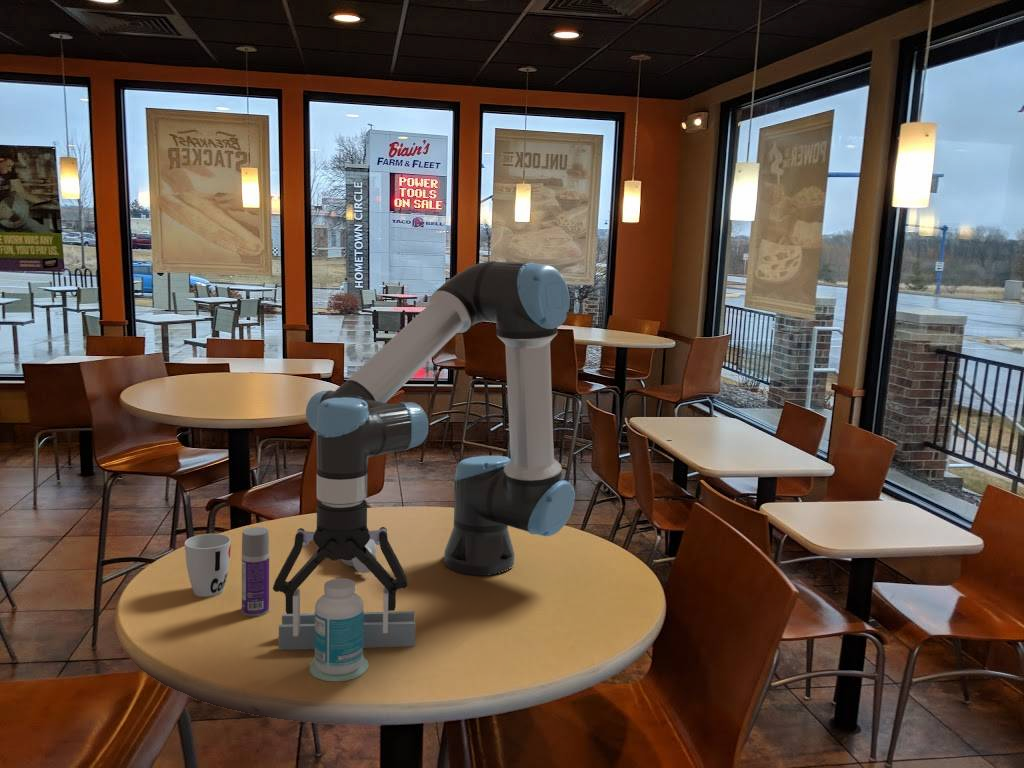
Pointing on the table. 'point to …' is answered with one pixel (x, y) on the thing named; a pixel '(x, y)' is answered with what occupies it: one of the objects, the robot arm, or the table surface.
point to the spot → (339, 678)
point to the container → (255, 571)
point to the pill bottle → (339, 628)
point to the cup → (208, 563)
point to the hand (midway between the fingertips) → (341, 630)
